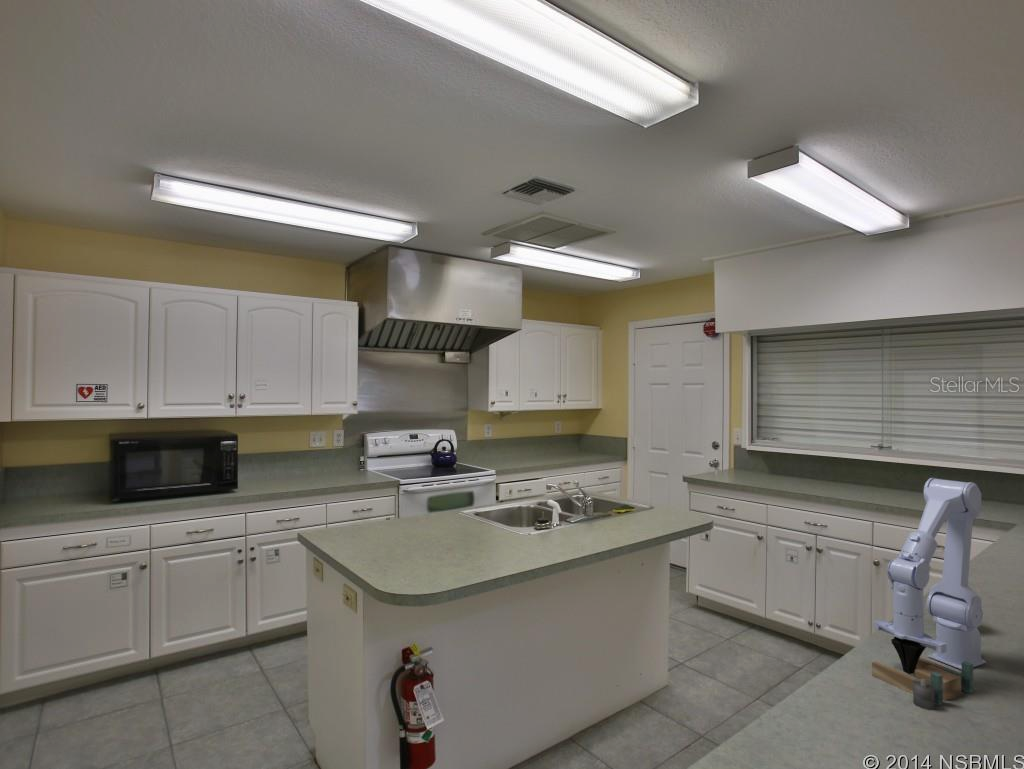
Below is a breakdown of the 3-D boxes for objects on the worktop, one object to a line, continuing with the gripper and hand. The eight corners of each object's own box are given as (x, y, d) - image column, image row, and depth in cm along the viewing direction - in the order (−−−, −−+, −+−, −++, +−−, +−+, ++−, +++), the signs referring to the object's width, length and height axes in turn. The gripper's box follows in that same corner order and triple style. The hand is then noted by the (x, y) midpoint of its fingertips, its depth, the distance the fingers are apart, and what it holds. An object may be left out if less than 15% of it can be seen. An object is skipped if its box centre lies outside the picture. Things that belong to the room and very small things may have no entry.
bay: (906, 664, 136) (905, 639, 137) (975, 692, 123) (974, 664, 124) (859, 679, 129) (859, 652, 129) (928, 711, 116) (927, 681, 116)
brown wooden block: (931, 682, 128) (930, 664, 128) (961, 695, 123) (960, 676, 123) (914, 688, 126) (914, 670, 126) (944, 701, 120) (944, 682, 120)
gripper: (866, 604, 135) (866, 662, 134) (933, 627, 122) (933, 690, 121) (884, 600, 138) (885, 656, 138) (951, 621, 125) (952, 683, 124)
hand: (909, 672), depth 130 cm, fingers closed
